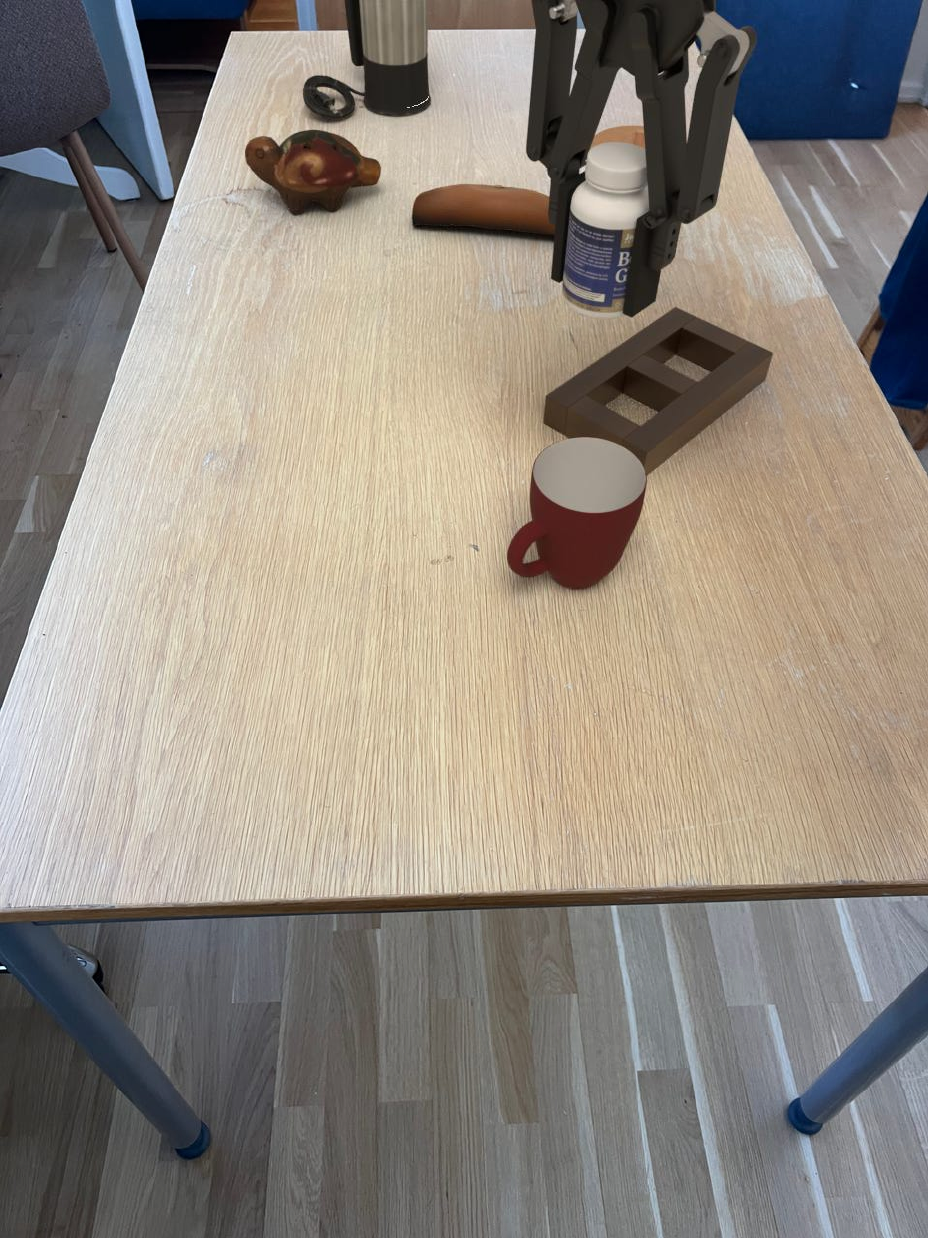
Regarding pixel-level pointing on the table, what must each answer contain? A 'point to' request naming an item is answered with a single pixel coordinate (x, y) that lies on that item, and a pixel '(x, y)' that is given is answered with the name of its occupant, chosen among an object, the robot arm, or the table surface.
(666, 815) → the table surface
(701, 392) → the holder
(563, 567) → the mug
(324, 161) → the decorative turtle
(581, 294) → the pill bottle
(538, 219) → the sunglasses case
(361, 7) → the milk frother
